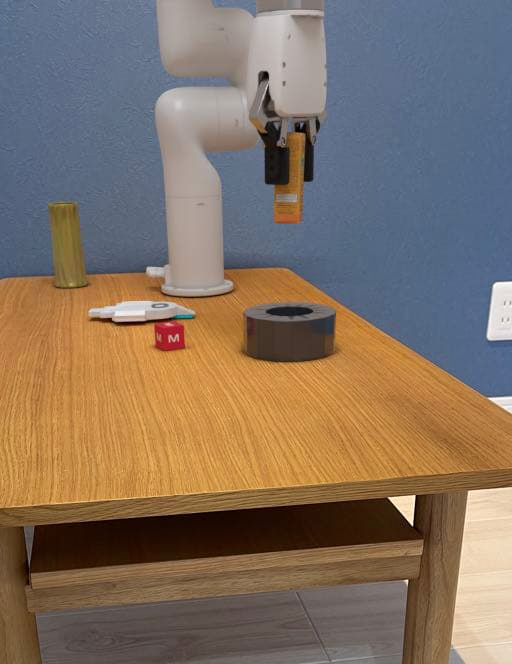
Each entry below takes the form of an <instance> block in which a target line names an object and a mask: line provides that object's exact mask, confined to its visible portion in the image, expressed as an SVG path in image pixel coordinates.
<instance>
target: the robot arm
mask: <svg viewBox="0 0 512 664" xmlns="http://www.w3.org/2000/svg"><path fill="white" fill-rule="evenodd" d="M155 8H156V23H157V24H156V25H157V35H158V36H157V37H158V49H159V55H160V61H161V64H162V67H163V68H164V71H165V72H166V73H168V74H169V75H171V76H174V77H179V78H225V79H226V80H227V81H228V83H229V85H224V86H223V85H222V86H220V85H219V86H217V85H216V86H210V85H205V86H204V85H202V86H200V85H199V86H198V85H197V86H179V87H174V88H171V89H168V90H167V91H165V92H163V93H162V94H160V95H159V97H158V99H157V101H156V103H155V106H154V122H155V129H156V134H157V138H158V143H159V149H160V154H161V155H160V156H161V161H162V162H161V163H162V170H163V185H164V186H163V187H164V200H165V201H164V202H165V218H166V219H165V220H166V237H167V254H168V257H167V258H168V263H167V264H164V265H163V267H162V266H160V267H159V266H147V267H146V270H145V271H146V273H145V274H146V278H147V279H150V280H159V279H160V280H161V279H162V281H164V283H162V284H161V286H160V288H161V290H160V291H161V293H163V294H165V295H168V296H173V297H184V298H185V297H186V298H187V297H188V298H189V297H190V298H191V297H192V298H193V297H195V298H196V297H197V298H198V297H210V296H211V297H212V296H218V295H224V294H227V293H230V292H231V291H233V290H234V282H233V281H231V280H229V279H225V256H224V223H223V192H222V191H223V190H222V181H221V178H220V175H219V174H218V171H217V170H216V169H215V167H214V165H213V164H212V163H211V162H210V160H209V159H208V158H207V156H206V154H208V153H216V152H217V153H219V152H236V151H238V152H239V151H248V150H252V149H253V148H255V147H256V146H257V145H258V144H259V142H260V145H261V147H262V148H264V150H263V151H264V152H263V153H264V183H265V185H268V186H270V185H271V186H274V185H287V184H289V156H290V151H289V147H285V145H286V139H287V132H289V131H288V129H289V122H290V128H291V129H290V130H291V132H299V133H305V134H306V137H305V160H304V183H311V182H313V181H314V173H315V171H314V169H315V168H314V167H315V166H314V165H315V163H314V162H315V146H316V145H317V142H318V133H319V131H320V129H321V126H322V124H323V123H324V122H325V120H326V119H327V117H328V112H327V108H326V102H327V92H328V91H327V89H328V86H327V85H328V84H327V83H328V81H327V80H328V73H327V48H326V47H327V45H326V33H325V25H324V18H325V0H255V17H254V16H253V14H251V13H250V12H249V11H248V10H247V9H244V8H241V7H215V6H214V5H213V3H212V0H155ZM301 124H302V125H301ZM276 125H277V127H276Z"/></svg>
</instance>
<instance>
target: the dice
mask: <svg viewBox="0 0 512 664" xmlns="http://www.w3.org/2000/svg"><path fill="white" fill-rule="evenodd" d="M153 325H154V327H153V328H154V341H155V343H154V344H155V347H156V348H158V349H160V350H161V351H164V352H167V351H172V350H181V349H185V348H186V343H185V342H186V341H185V325H184V324H181V323H180V322H178V321H176V320H174V321H166V322H158V323H153Z"/></svg>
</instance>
